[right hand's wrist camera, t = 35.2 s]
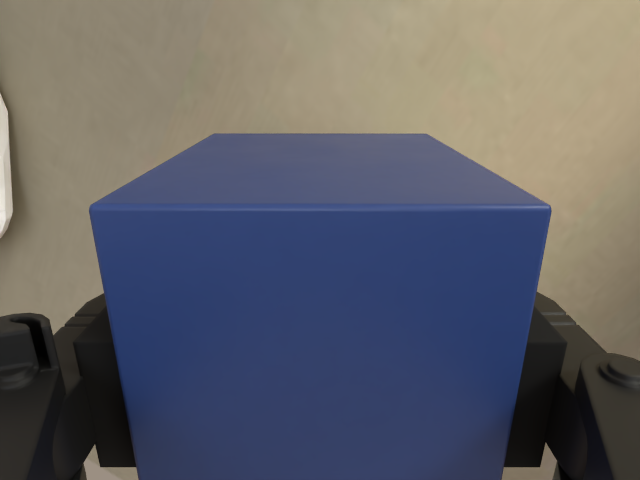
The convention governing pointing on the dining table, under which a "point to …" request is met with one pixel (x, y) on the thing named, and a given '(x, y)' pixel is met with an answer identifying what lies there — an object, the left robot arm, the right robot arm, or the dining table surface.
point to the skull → (5, 171)
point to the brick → (320, 308)
